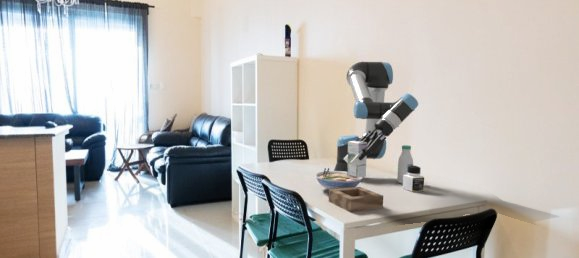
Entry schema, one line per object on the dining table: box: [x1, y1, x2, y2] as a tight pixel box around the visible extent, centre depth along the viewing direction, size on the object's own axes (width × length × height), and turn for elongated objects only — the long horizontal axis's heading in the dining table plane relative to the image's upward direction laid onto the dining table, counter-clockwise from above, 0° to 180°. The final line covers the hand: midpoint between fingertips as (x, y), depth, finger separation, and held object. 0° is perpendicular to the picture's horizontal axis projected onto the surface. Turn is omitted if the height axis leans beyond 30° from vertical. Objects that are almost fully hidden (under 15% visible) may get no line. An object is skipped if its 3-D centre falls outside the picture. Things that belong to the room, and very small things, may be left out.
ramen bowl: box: [314, 167, 364, 191], centre depth 172 cm, size 25×23×8 cm
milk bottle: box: [396, 144, 414, 185], centre depth 191 cm, size 8×8×20 cm
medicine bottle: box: [402, 164, 425, 193], centre depth 177 cm, size 7×7×12 cm
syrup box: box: [347, 141, 367, 178], centre depth 148 cm, size 6×6×14 cm
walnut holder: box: [328, 186, 384, 213], centre depth 150 cm, size 16×16×5 cm
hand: (349, 162), depth 148 cm, fingers closed on syrup box, 7 cm apart
